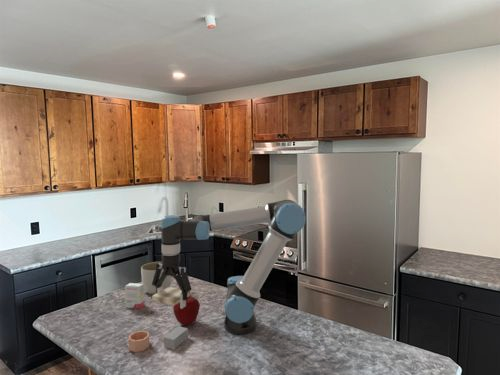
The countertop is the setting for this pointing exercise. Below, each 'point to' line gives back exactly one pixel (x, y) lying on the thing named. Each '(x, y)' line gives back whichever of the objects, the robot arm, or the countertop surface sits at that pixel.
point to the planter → (148, 275)
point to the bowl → (139, 341)
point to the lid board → (168, 296)
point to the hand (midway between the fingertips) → (171, 304)
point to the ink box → (134, 295)
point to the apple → (187, 311)
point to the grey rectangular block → (175, 337)
